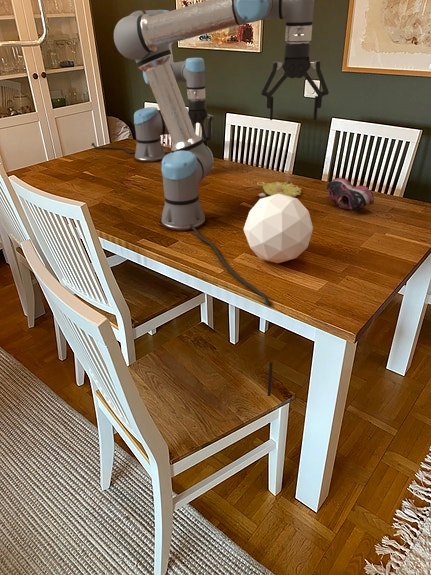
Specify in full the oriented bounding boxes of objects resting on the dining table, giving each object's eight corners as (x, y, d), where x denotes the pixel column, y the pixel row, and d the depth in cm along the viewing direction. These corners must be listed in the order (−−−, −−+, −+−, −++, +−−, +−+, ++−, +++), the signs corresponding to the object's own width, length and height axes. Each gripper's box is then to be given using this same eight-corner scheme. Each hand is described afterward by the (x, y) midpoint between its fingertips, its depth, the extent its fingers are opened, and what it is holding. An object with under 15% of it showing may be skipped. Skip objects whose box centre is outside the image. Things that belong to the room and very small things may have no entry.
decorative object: (287, 199, 166) (244, 186, 176) (286, 205, 167) (244, 192, 178) (314, 184, 179) (272, 172, 189) (313, 190, 181) (272, 178, 191)
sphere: (285, 285, 132) (293, 258, 113) (230, 249, 136) (230, 218, 118) (319, 238, 137) (332, 204, 118) (265, 205, 141) (270, 168, 122)
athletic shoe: (336, 177, 172) (311, 184, 169) (376, 171, 153) (348, 180, 149) (341, 205, 175) (316, 213, 171) (381, 204, 156) (354, 213, 152)
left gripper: (175, 101, 182) (179, 158, 195) (215, 100, 180) (217, 158, 193) (178, 98, 188) (182, 153, 201) (217, 97, 187) (219, 153, 199)
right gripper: (254, 44, 127) (252, 121, 138) (343, 42, 124) (334, 121, 135) (255, 42, 133) (253, 116, 144) (340, 40, 130) (331, 116, 142)
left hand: (199, 155), depth 197 cm, fingers closed on label tape box, 4 cm apart
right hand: (292, 119), depth 140 cm, fingers open, 13 cm apart
